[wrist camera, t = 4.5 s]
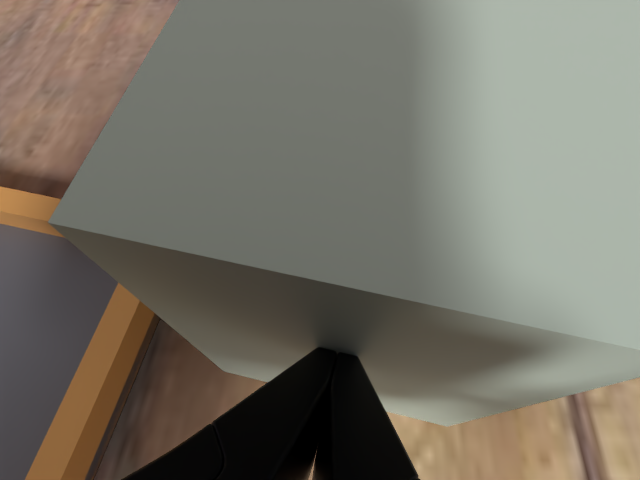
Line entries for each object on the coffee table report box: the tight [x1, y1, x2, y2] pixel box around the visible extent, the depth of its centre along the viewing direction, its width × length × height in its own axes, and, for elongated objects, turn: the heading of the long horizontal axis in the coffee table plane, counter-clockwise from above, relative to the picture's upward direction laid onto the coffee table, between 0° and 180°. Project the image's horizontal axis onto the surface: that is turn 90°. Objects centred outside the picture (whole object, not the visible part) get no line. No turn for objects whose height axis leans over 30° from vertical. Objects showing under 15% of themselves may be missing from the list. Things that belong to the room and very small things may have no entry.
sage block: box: [48, 0, 640, 426], centre depth 12 cm, size 8×8×11 cm
